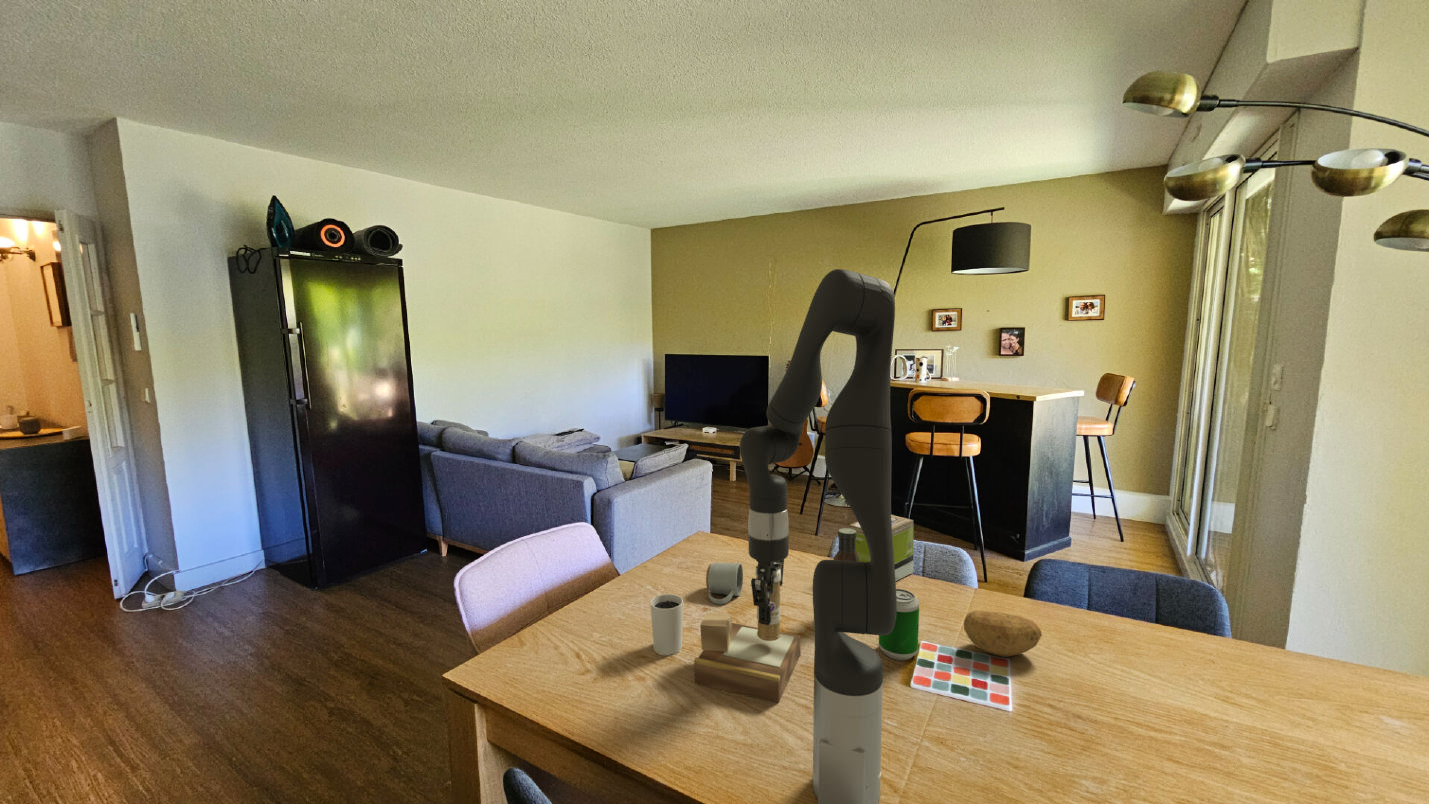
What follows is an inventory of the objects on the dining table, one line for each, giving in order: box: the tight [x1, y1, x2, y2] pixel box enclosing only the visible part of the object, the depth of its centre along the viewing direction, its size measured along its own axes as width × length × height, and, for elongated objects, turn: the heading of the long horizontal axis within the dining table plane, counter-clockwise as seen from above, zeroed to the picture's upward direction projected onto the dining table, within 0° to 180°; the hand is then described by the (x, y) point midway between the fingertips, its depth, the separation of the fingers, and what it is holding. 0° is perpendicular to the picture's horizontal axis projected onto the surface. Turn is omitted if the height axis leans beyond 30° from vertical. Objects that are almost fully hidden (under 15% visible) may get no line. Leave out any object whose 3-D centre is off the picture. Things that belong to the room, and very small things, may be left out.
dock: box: [693, 622, 802, 704], centre depth 110 cm, size 16×16×5 cm
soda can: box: [878, 587, 920, 661], centre depth 114 cm, size 8×8×12 cm
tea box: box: [849, 514, 915, 582], centre depth 150 cm, size 15×10×15 cm, turn 130°
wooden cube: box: [699, 612, 733, 652], centre depth 111 cm, size 5×5×5 cm
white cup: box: [649, 593, 684, 656], centre depth 117 cm, size 7×7×10 cm
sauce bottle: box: [833, 527, 860, 561], centre depth 128 cm, size 7×6×20 cm
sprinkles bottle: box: [756, 568, 781, 641], centre depth 109 cm, size 5×5×13 cm
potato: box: [963, 609, 1043, 658], centre depth 114 cm, size 10×14×8 cm
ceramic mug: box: [705, 562, 744, 605], centre depth 140 cm, size 11×8×8 cm
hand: (768, 616), depth 110 cm, fingers closed on sprinkles bottle, 4 cm apart
